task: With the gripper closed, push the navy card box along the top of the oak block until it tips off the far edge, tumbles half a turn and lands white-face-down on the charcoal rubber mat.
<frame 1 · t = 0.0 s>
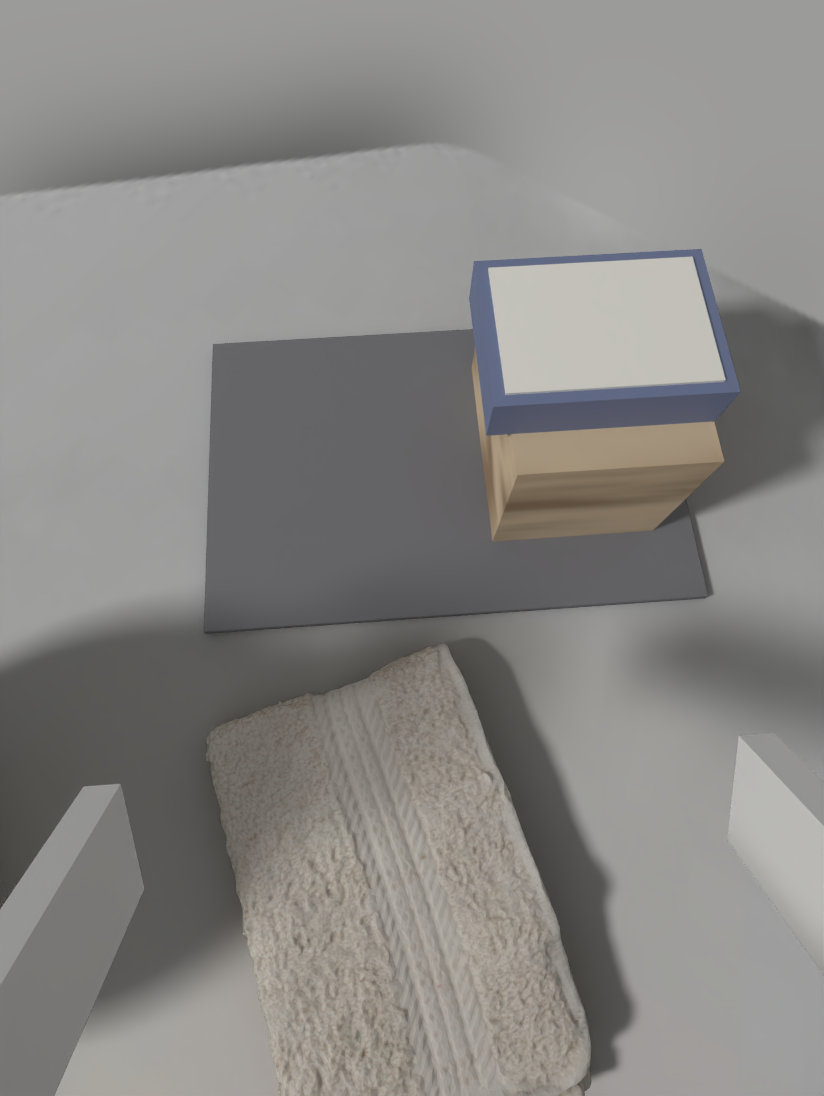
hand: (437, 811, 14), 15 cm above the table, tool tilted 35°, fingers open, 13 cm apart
washcloth: (390, 887, 28), on the table
mat: (443, 465, 33), on the table
card box: (587, 357, 26), point 8 cm above the table, touching oak block
oak block: (556, 449, 34), resting on mat
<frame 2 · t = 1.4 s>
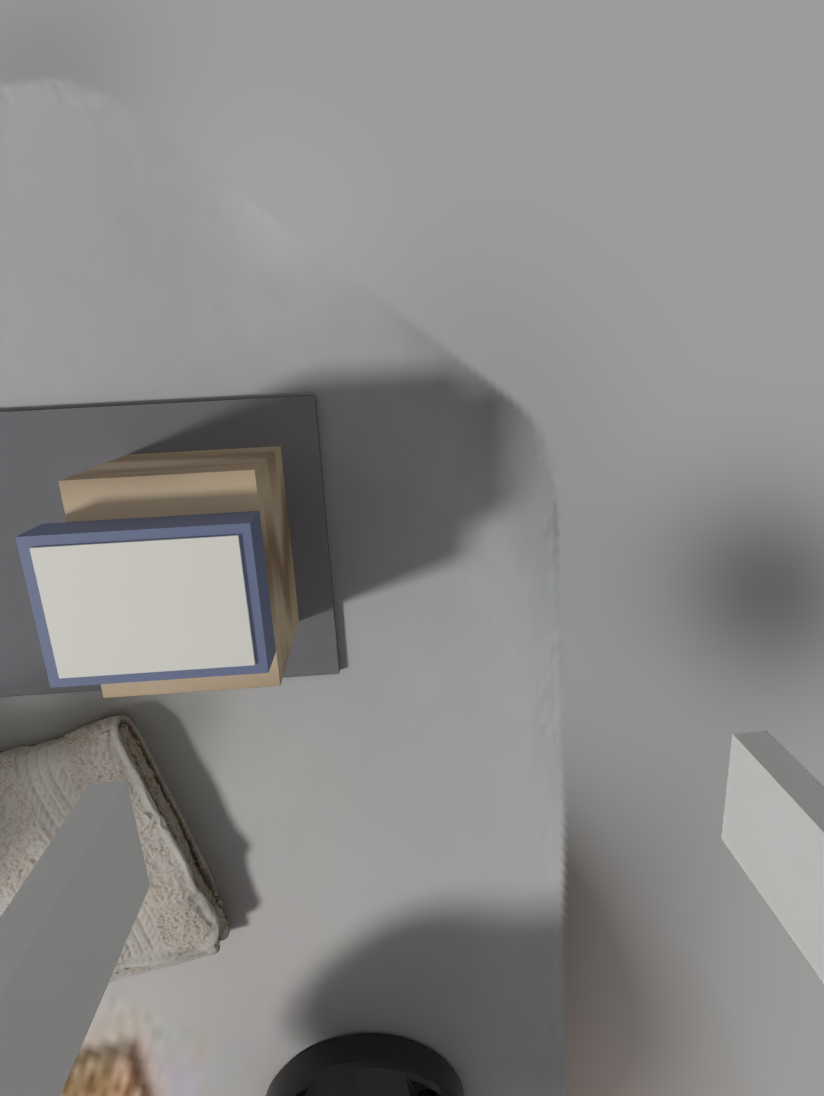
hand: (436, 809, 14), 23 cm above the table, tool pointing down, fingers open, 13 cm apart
washcloth: (106, 843, 42), on the table
mat: (110, 554, 35), on the table
card box: (163, 589, 28), point 8 cm above the table, touching oak block
oak block: (218, 539, 35), resting on mat
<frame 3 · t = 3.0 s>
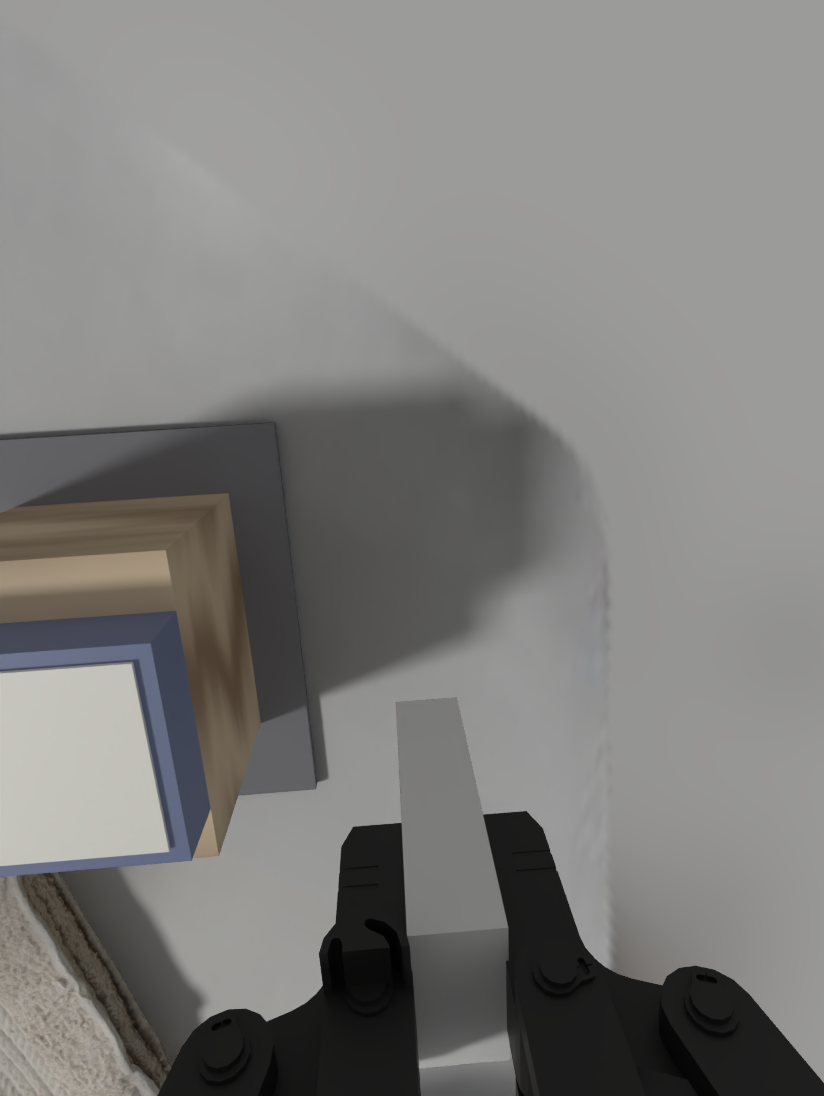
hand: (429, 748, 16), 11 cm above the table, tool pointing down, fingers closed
washcloth: (19, 996, 32), on the table
mat: (1, 640, 26), on the table
card box: (36, 727, 18), point 8 cm above the table, touching oak block
oak block: (148, 617, 26), resting on mat
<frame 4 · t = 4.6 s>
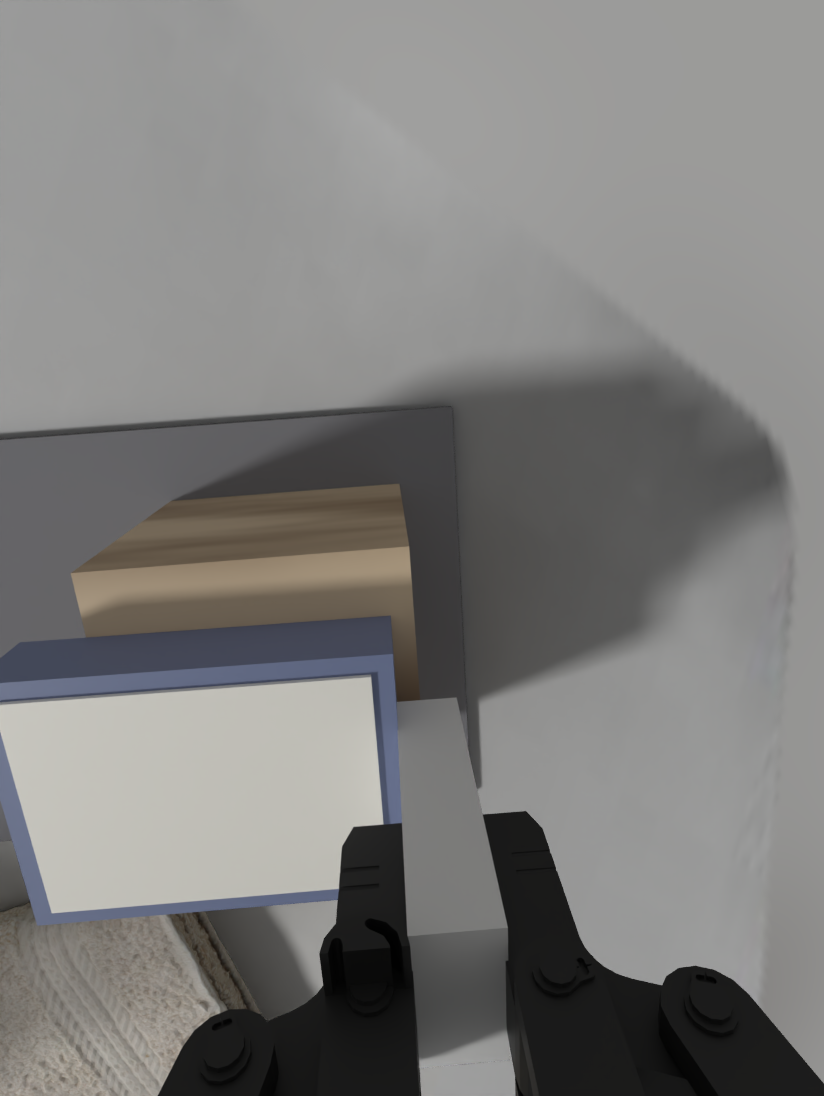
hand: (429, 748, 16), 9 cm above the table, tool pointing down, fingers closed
washcloth: (142, 1016, 31), on the table
mat: (146, 643, 24), on the table
card box: (225, 743, 17), point 8 cm above the table, touching gripper
oak block: (303, 618, 24), resting on mat
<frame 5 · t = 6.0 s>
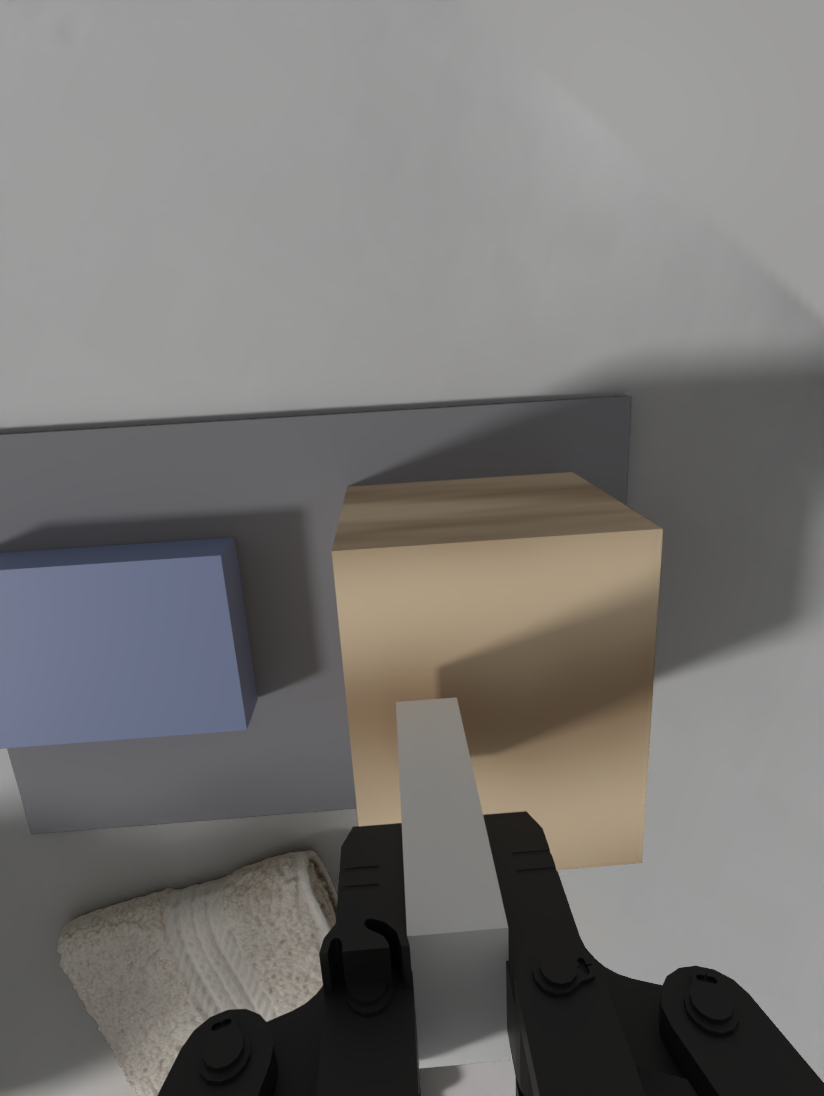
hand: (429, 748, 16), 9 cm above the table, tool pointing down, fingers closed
washcloth: (263, 1003, 31), on the table
mat: (307, 629, 24), on the table
card box: (99, 656, 22), point 3 cm above the table, tilted 180°, touching mat
oak block: (463, 606, 24), resting on mat
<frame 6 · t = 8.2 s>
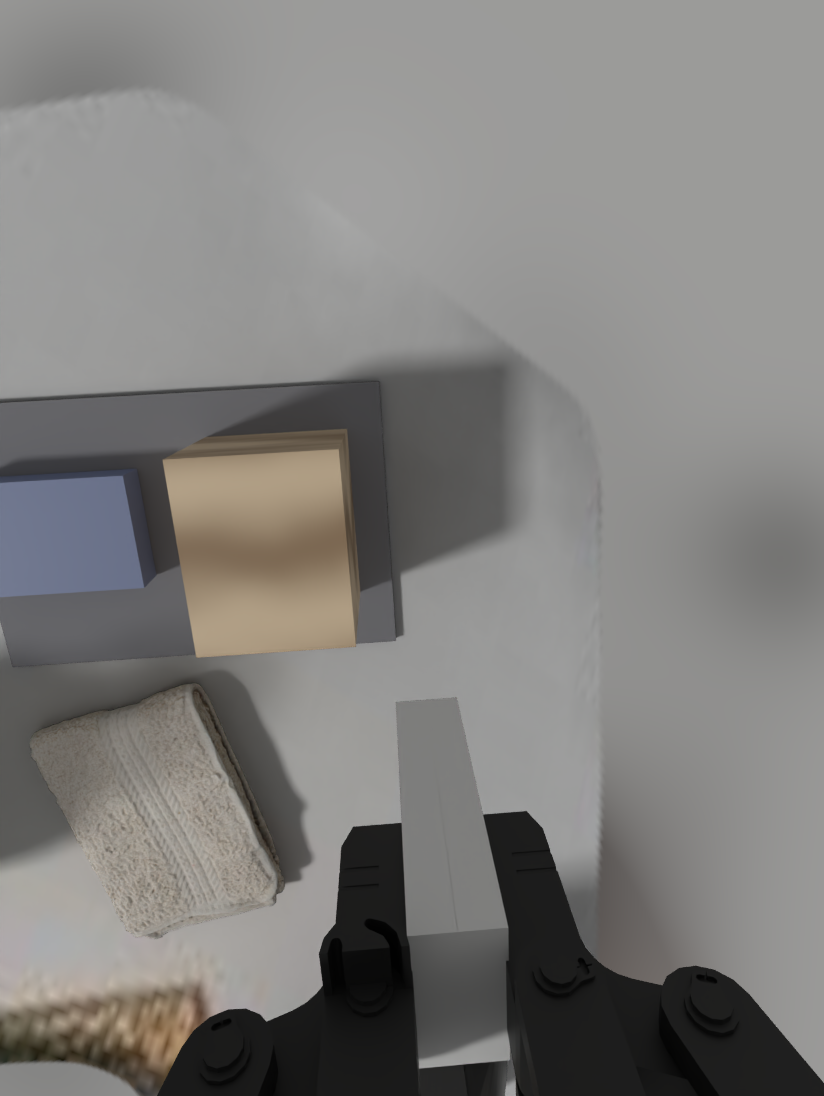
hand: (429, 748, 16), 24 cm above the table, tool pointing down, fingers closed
washcloth: (173, 802, 45), on the table
mat: (187, 530, 38), on the table
card box: (51, 538, 35), point 3 cm above the table, tilted 180°, touching mat
oak block: (287, 515, 38), resting on mat
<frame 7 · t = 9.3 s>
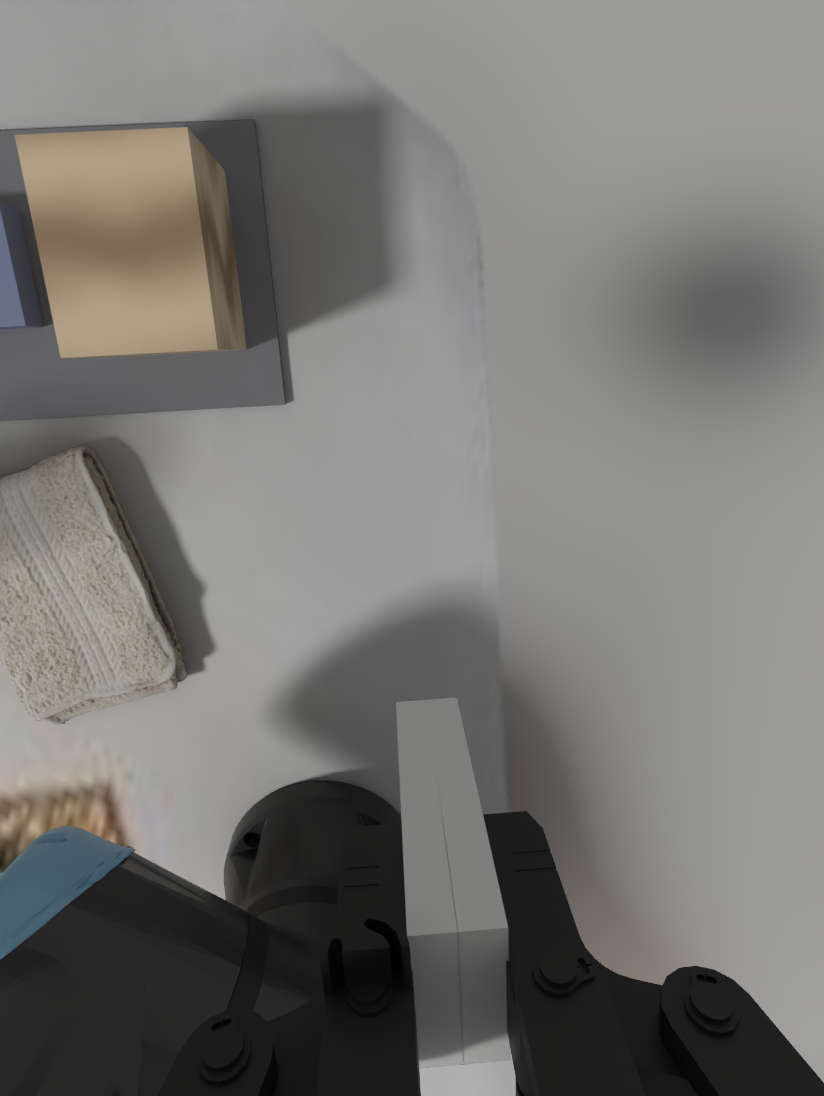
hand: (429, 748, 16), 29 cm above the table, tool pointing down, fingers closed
washcloth: (74, 586, 46), on the table
mat: (73, 281, 39), on the table
oak block: (171, 267, 39), resting on mat
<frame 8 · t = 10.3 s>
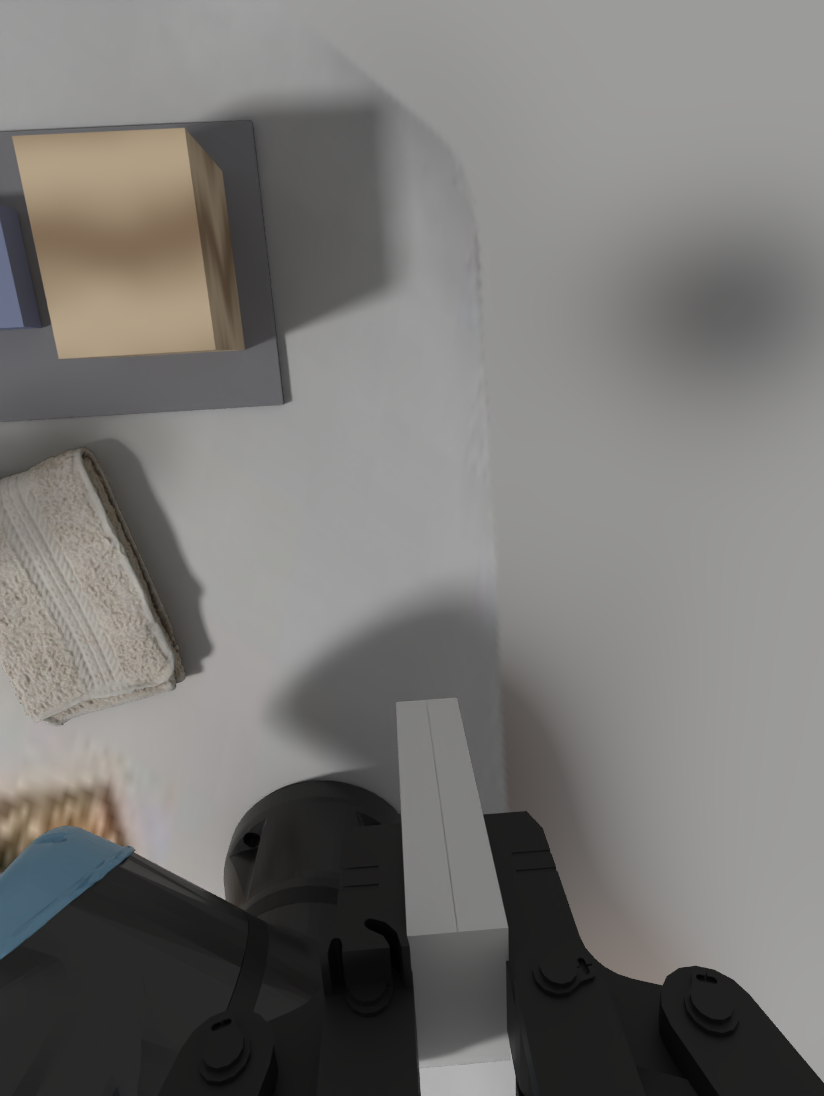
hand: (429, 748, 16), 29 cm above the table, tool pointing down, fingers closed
washcloth: (73, 587, 46), on the table
mat: (72, 282, 39), on the table
oak block: (169, 268, 39), resting on mat
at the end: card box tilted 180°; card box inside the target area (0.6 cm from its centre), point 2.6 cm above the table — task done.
